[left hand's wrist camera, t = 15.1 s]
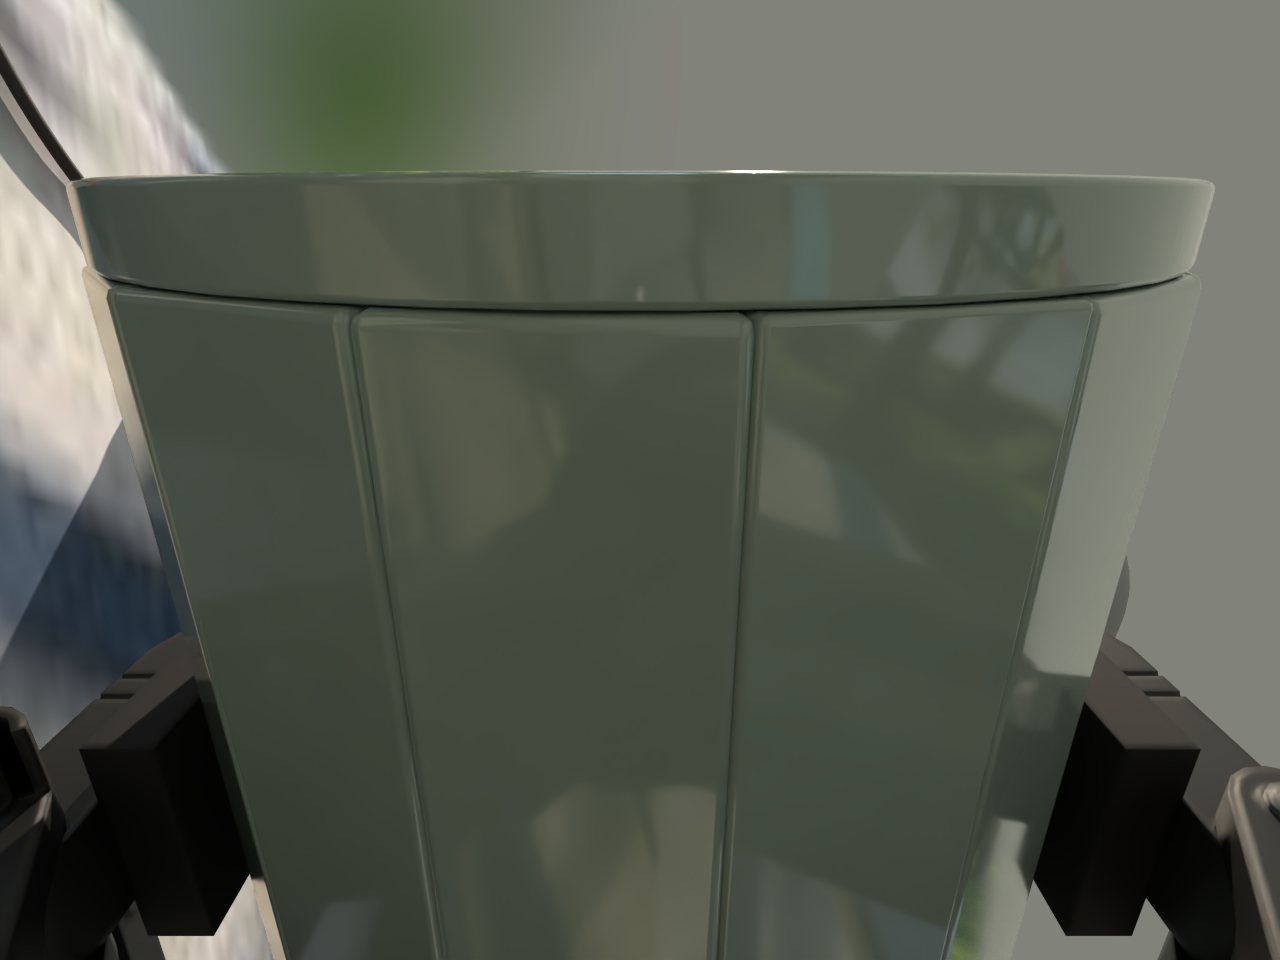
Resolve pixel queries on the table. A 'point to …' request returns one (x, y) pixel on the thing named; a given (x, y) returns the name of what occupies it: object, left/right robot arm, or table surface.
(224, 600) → the beaker
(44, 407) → the table surface
